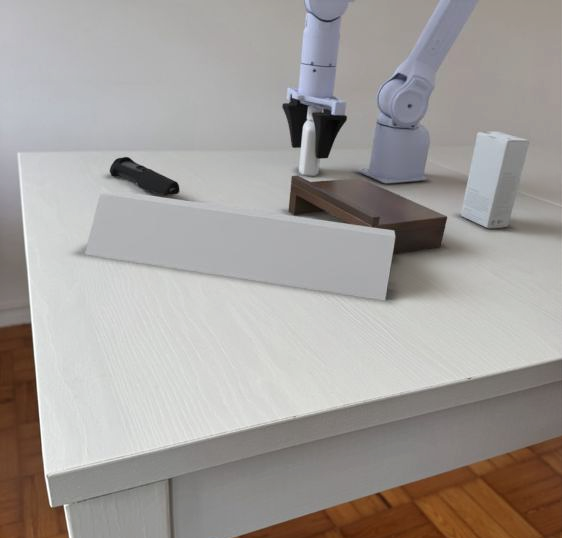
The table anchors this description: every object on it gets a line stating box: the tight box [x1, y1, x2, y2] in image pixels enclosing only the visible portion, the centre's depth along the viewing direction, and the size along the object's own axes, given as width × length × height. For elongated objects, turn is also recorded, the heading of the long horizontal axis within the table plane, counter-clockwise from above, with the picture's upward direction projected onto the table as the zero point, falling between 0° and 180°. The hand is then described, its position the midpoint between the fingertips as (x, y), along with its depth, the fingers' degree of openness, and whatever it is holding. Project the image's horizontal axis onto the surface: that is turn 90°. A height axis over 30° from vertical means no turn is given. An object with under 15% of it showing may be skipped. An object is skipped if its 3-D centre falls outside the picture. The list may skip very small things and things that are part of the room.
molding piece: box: [84, 191, 395, 301], centre depth 69 cm, size 32×12×10 cm
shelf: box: [287, 175, 448, 255], centre depth 78 cm, size 12×18×5 cm, turn 31°
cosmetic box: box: [460, 130, 530, 229], centre depth 84 cm, size 6×4×12 cm
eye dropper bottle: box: [298, 103, 323, 177], centre depth 100 cm, size 4×6×12 cm
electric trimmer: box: [109, 156, 181, 197], centre depth 87 cm, size 4×16×3 cm, turn 42°
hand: (309, 152), depth 101 cm, fingers open, 7 cm apart
